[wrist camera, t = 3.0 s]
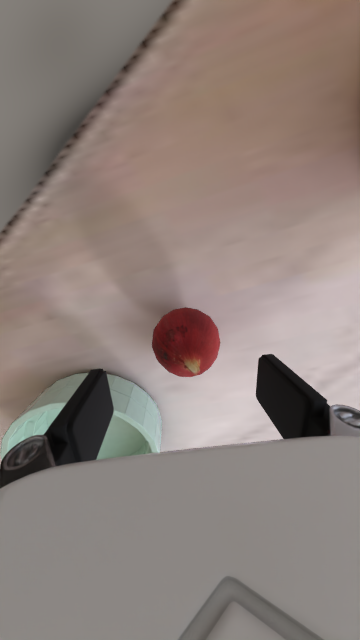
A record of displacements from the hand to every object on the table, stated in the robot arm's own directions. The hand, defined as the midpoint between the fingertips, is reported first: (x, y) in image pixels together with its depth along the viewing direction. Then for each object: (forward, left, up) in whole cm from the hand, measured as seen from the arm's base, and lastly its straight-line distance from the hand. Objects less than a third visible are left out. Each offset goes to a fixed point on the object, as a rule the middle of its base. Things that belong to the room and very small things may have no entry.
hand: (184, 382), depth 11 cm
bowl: (+12, -11, -9) cm, 18 cm away
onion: (0, 0, -9) cm, 9 cm away
